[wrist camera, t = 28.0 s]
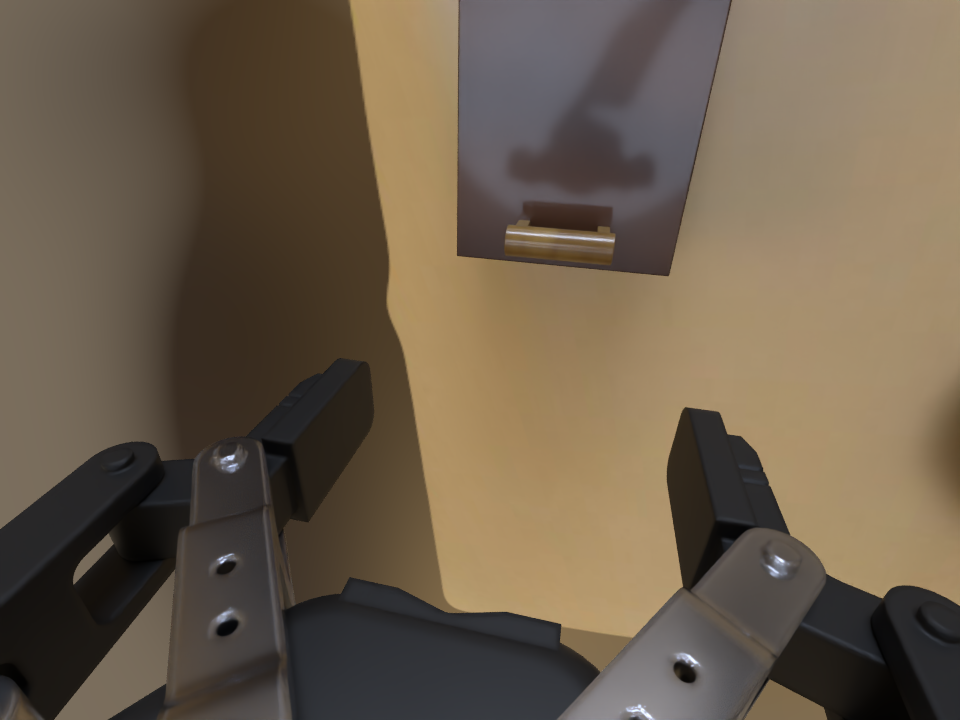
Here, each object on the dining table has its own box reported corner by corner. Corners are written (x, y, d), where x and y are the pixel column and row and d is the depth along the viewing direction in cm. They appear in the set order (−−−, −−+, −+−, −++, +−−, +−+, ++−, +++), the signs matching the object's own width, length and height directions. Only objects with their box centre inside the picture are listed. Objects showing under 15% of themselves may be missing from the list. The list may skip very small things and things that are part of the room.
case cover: (667, 272, 29) (678, 303, 25) (459, 253, 31) (438, 277, 27) (744, -67, 21) (777, -102, 17) (462, -63, 24) (433, -93, 20)
